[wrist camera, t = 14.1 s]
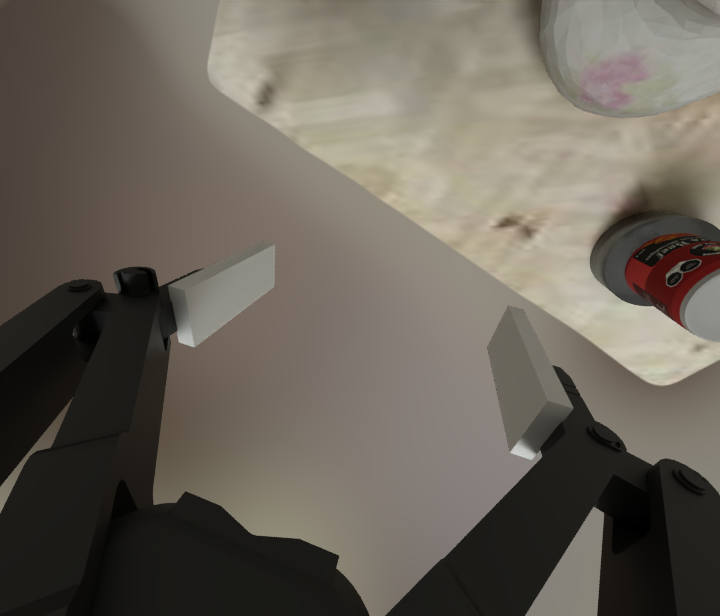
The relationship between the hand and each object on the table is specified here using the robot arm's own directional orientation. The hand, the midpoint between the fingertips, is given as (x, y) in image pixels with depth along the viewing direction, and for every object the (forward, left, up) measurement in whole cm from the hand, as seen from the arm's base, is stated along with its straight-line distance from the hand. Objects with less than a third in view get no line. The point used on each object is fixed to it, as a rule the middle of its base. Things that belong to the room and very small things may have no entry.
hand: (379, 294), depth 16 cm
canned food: (0, +30, -27) cm, 40 cm away
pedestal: (0, +30, -32) cm, 44 cm away
